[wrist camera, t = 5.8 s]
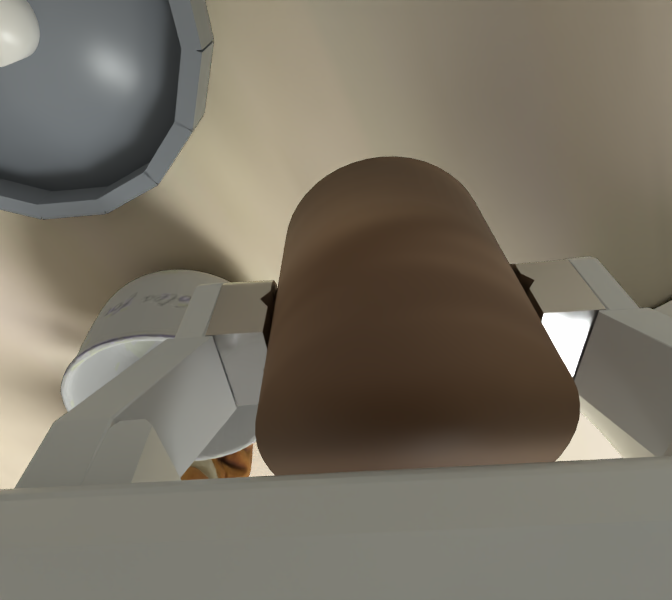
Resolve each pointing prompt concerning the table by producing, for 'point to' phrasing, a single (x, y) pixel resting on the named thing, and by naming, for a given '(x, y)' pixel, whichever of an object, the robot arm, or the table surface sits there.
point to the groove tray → (96, 99)
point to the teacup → (147, 346)
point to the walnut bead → (405, 335)
